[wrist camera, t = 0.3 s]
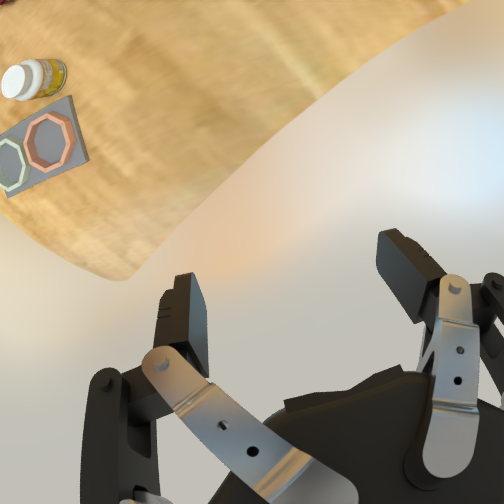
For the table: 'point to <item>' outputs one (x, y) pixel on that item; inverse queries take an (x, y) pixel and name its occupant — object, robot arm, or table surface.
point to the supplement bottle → (33, 79)
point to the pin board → (41, 147)
